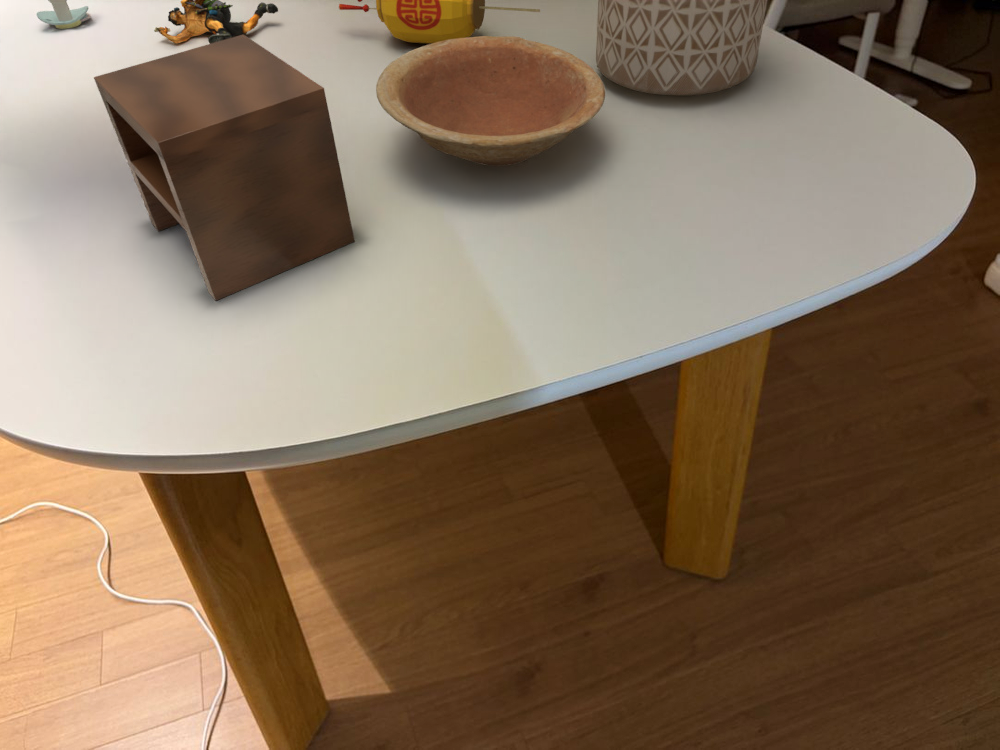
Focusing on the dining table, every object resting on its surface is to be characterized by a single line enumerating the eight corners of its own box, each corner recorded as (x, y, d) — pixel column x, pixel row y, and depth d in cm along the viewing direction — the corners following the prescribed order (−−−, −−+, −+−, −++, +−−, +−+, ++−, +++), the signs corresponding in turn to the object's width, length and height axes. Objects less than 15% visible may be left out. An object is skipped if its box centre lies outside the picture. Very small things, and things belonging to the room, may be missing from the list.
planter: (724, 38, 107) (744, -101, 96) (777, 100, 93) (808, -55, 82) (582, 51, 106) (585, -88, 95) (614, 116, 92) (622, -39, 81)
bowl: (458, 231, 76) (451, 154, 71) (350, 138, 91) (337, 69, 86) (647, 156, 85) (654, 82, 80) (521, 82, 100) (519, 16, 94)
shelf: (215, 301, 70) (157, 142, 60) (152, 224, 80) (93, 76, 69) (355, 241, 76) (324, 87, 66) (280, 177, 85) (243, 34, 75)
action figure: (230, 66, 108) (136, 55, 112) (283, 25, 119) (195, 16, 122) (219, 23, 104) (121, 14, 108) (274, -16, 115) (184, -23, 118)
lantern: (309, -41, 105) (532, -30, 98) (343, -44, 113) (550, -35, 106) (317, 42, 110) (528, 57, 103) (348, 32, 118) (546, 46, 111)
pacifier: (48, 21, 124) (40, 33, 120) (30, -22, 120) (22, -11, 116) (97, 15, 125) (91, 27, 121) (81, -28, 121) (75, -17, 117)
